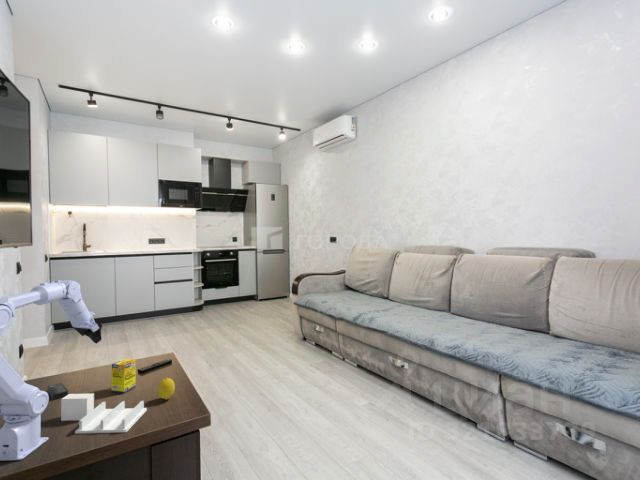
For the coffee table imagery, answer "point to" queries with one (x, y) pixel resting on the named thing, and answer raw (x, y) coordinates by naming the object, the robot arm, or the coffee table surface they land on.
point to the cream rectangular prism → (76, 406)
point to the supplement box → (123, 376)
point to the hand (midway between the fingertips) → (91, 337)
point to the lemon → (166, 388)
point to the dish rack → (110, 419)
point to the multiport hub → (57, 391)
